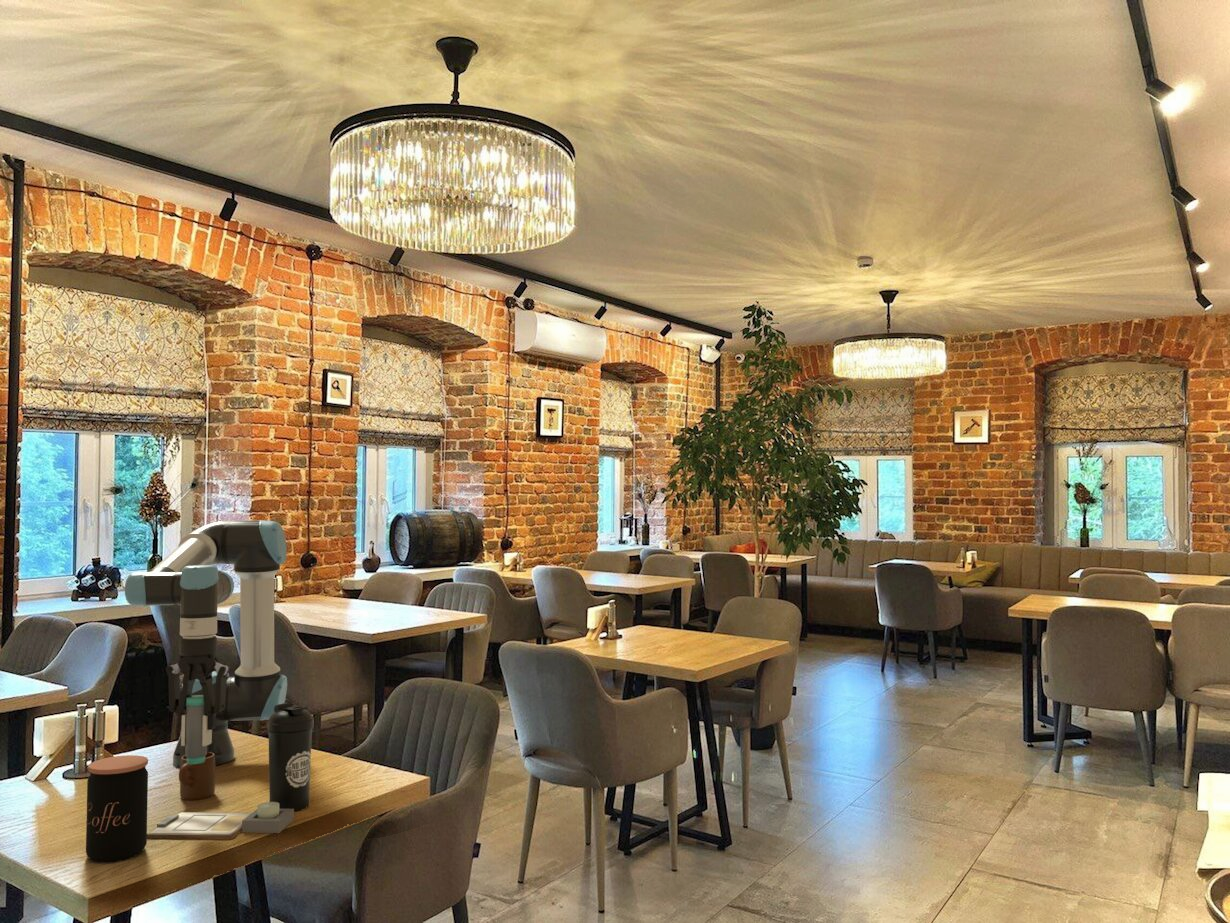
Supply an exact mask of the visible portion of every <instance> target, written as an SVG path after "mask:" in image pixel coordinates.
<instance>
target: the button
mask: <svg viewBox="0 0 1230 923" xmlns="http://www.w3.org/2000/svg"><path fill="white" fill-rule="evenodd" d="M257 809H258V812H257V818H269V819H275V818H276V817H278V816H279V803H278V802H270V801H266V802H261V803H260V804H258V805H257Z"/></svg>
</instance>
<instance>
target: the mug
mask: <svg viewBox="0 0 1230 923" xmlns="http://www.w3.org/2000/svg"><path fill="white" fill-rule="evenodd" d="M178 781H179V796H180V798H181V799H183V800H184V801H198V800H203V799H207V798H210V797H211V796H214V794H215V789H216V788H215V787H216V765H215V754H214V753H211V752H207V754H206V755H205V762H203V763H199V764H187V757H186V755H184V756H182V758H181V766H180V767H179V771H178Z"/></svg>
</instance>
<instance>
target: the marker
mask: <svg viewBox="0 0 1230 923" xmlns="http://www.w3.org/2000/svg"><path fill="white" fill-rule="evenodd" d="M205 714H206V708H205V703H204V697H203V695H194V696H189V697H187V698H186V757H187V764H199V763H203V762H205V755H206V754H207V746H202V729H203V716H204V715H205Z"/></svg>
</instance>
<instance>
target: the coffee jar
mask: <svg viewBox="0 0 1230 923" xmlns="http://www.w3.org/2000/svg"><path fill="white" fill-rule="evenodd" d="M148 764H149V759H148V757H146V756H143V755H137V754H136V755H133V754H132V755H131V754H130V755H129V754H128V755H117V756H109V757H106V758H101V759H97V760H95V761H92V762H90V763H89V764H88V765H87V771H88V772H89V773H90V774H89V776H88V777H87V781H86V782H87V783H86V784H87V785H86V786H87V787H86V828H85V830H86V832H85V853H86V856H87V858H88V859H89V860H90V861H91V862H93V863H98V864H111V863H112V864H113V863H117V862H118V863H119V862H124V861H127V860H130V859H133V858H135V857H138V856H139V855H140V854H142V853H143V850H145V848H146V846H147V841H148V840H147V839H148V838H147V833H148V796H149V795H148V793H149V792H148V791H149V788H148V787H149V786H148V784H149V771H148V770H147V768H146V767H147V765H148Z"/></svg>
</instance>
